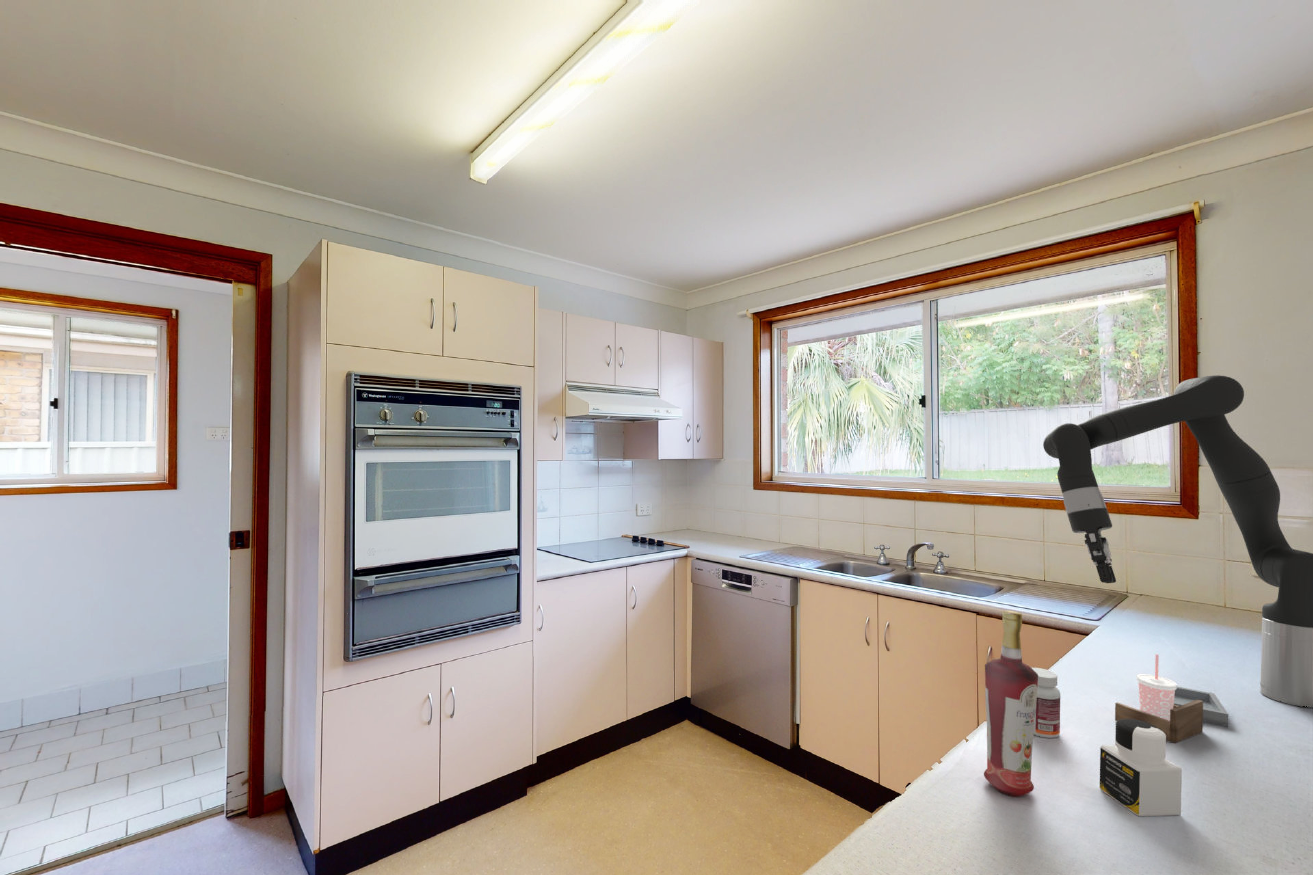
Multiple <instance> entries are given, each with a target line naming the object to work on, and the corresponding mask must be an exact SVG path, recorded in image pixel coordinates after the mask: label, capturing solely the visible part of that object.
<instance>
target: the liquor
mask: <svg viewBox="0 0 1313 875" xmlns="http://www.w3.org/2000/svg"><path fill="white" fill-rule="evenodd" d="M1022 626H1023V614H1022V613H1021V612H1018V611H1016V610H1002V627H1003V636H1002V643H1001V650H1000V658H995V659H992V660H989V661H988V662H986V663H985V664H984V686H985V687H984V688H985V692H984V693H985V712H986V749H987V750H986V751H987V752H986V755H987V756H986V757H987V758H986V766H987V767H986V769H985V770H984V772H983V776H984V779H986V780H987V782H988V783H989V784H990V785H991V786H992V787H993V788H994V789H995V790H996V791H998V793H999V792H1000V793H1001V794H1003V795H1007V796H1009V797H1015V798H1020V797H1023V796H1025V795H1028V794H1030V793H1032V792H1033V791H1034V789H1035V786H1034V783H1033V782H1032V761H1033V760H1032V759H1033V748H1034V746H1033V744H1034V734H1033V733H1034V723H1035V713H1036V700H1037V685H1038V674H1037V673H1036V672H1035V671H1034V670H1033V669H1032V668H1033V667H1031V666H1029V665H1027V664H1026V663H1024V662H1023V656H1022V643H1021V642H1022V641H1021V630H1022Z"/></svg>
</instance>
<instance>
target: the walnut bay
mask: <svg viewBox="0 0 1313 875" xmlns="http://www.w3.org/2000/svg"><path fill="white" fill-rule="evenodd" d="M1114 704H1115V708H1114V710H1115V712H1114V720H1115V722H1117V721H1118V720H1121V719H1136V720H1140V721H1144V722H1147V723H1150V724H1152V725H1154V726H1156V727H1157V728H1159V729H1161V730H1162V731H1163V732H1164V733H1165V735H1166V741H1168V742H1171V743H1173V744H1176V743H1180V742H1181V741H1184V740H1187V739H1189V738H1192V737H1194V736H1197V735H1198V734H1201V733H1203V725H1204V724H1203V723H1204V722H1203V701H1201V700H1195V701H1192V702H1190V703H1187V704H1184V705H1181V706H1177V705H1174V704H1173V709H1170V721H1168V720H1166V719H1163V718H1160V717H1157V716H1155V715H1152V714H1149V713H1146V712H1143V711H1141V710H1140V709H1137V708H1135V707H1132V706H1129V705H1126V704H1124V703H1121V702H1118V701H1117V702H1115V703H1114Z"/></svg>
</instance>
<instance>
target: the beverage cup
mask: <svg viewBox="0 0 1313 875" xmlns="http://www.w3.org/2000/svg"><path fill="white" fill-rule="evenodd" d="M1159 658H1160V657H1159V654H1155V657H1154V659H1155V665H1154V666H1155V667H1154V670H1155V671H1154V674H1150V673H1149V674H1147V673H1141V674H1139V673H1138V674H1137V675H1136V681H1137V683H1138V696H1139V697H1138V698H1139V710H1141V711H1143V712H1146V713H1149V714H1152V715H1155V716H1157V717H1160V718H1163V719H1166V720H1168V721H1170V709H1173V704H1174V695H1175V690H1176V689H1177V688H1176V687H1178V684H1177V683H1176V681H1173V680H1171V679H1169V678H1167V677H1164V676H1163V677H1162V676H1159Z"/></svg>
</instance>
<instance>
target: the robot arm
mask: <svg viewBox="0 0 1313 875" xmlns="http://www.w3.org/2000/svg"><path fill="white" fill-rule="evenodd" d="M1244 398H1245V391H1244V387H1243V386H1242V384H1241V382H1239V381H1238V380H1236V379H1235V378H1232V377H1230V376H1226V375H1216V374H1215V375H1207V376H1200V377H1194V378H1189V379H1186V380H1182V381H1181V382H1180V383H1179V384H1178V385H1176V388H1175V390H1174V391H1173V394H1172V395H1168V396H1165V397H1161V398H1158V399H1155V400H1151V401H1145V402H1141V403H1137V404H1133V405H1128V406H1125V407H1124V406H1123V407H1121V408H1117V409H1114V410H1110V411H1107V412H1104V413H1101V414H1097V415H1095V416H1093V417H1090V418H1088V419H1087V420H1085V421H1084V422H1082V423H1080V424H1075V423H1072V422H1071V423H1070V422H1068V423H1067V422H1066V423H1062V424H1060V425H1058V426H1056V427H1055V429H1053V430H1052V431H1051V432H1049V433H1048V434H1047V435H1046V436H1045V438H1044V440H1043V445H1042V446H1043V449H1044V452H1045V453H1046V454H1047V455H1048V456H1050V457H1052V458H1054V459H1058V462H1059V463H1058V464H1059V468H1058V470H1057V473H1056V474H1057V480H1058V484H1059V486H1060V490H1061V494H1062V498H1063V499H1062V500H1063V504H1064V505H1063V506H1064V508H1065V511H1066V514H1067V517H1068V518H1067V519H1068V520H1069V524H1070V528H1071V531H1072V532H1073V533H1074V534H1084V533H1085V534H1084V538H1085V539H1084V540H1083V541H1084V544H1085V546H1086V548H1087V551H1088V555H1089V557H1090V559H1091V561H1092V562H1093V564H1094V566H1095V567H1096V570H1097V574H1098V576H1099V580H1100V582H1101V583H1105V584H1113V583H1115V584H1116V582H1117V578H1116V575H1115V572H1114V568H1113V560H1112V558H1111V557H1112V554H1111V550H1110V548H1109V541H1108V538H1107V537H1104V536H1102V531H1105V530H1109V529H1112V528H1113V523H1112V519H1111V518H1110V514H1109V511H1108V508H1107V505H1106V501H1105V498H1104V496H1103V494H1102V492H1101V490H1100V488H1099V484H1098V482H1097V479H1096V475H1095V473H1094V470H1093V462H1092V461H1093V459H1092V458H1093V457H1092V450H1093V449H1095V448H1097V447H1098V448H1099V447H1101V446H1104V445H1109V444H1113V443H1116V442H1119V441H1123V440H1126V439H1129V438H1132V437H1135V436H1139V435H1141V434H1144V433H1147V432H1151V431H1154V430H1156V429H1159V428H1163V427H1167V426H1170V425H1174V424H1177V423H1181V422H1182V423H1183V422H1185V425H1186V426H1187V427H1188V429H1189V430H1190V432H1191V433H1192V435H1193V436H1194V438H1195V440H1196V442H1197V443H1198V446H1199V447H1200V449H1201V452H1202V454H1203V456H1204V458H1205V461H1207V464H1208V466H1209V468H1210V469H1211V472H1212V474H1213V477H1214V479H1215V481H1216V483H1217V486H1218V488H1219V489H1220V491H1221V493H1222V496H1223V497H1224V499H1225V501H1226V503H1227V505H1228V506H1229V507H1228V508H1229V509H1230V511H1231V514H1232V515H1233V518H1234V520H1235V522H1236V524H1237V526H1238V528H1239V531H1240V532H1241V535H1242V538H1243V540H1244V543H1245V544H1244V545H1245V548H1246V549H1247V552H1248V556H1249V559H1250V562H1251V565H1252V568H1253V570H1254V571H1255V574H1256V575H1257V576H1258V578H1259V579H1261V580H1262V581H1263V582H1264V583H1266V584H1268V585H1270V586H1272V587H1275V588H1278V592H1277V599H1276V600H1275V601H1274V602H1268V603H1265V604H1263V606H1262V609H1261V647H1260V648H1261V649H1260V650H1261V652H1260V682H1259V684H1260V687H1259V688H1260V690H1259V691H1260V693H1261V694H1262V695H1263V696H1265V697H1266V698H1269V699H1272V700H1275V701H1278V702H1280V701H1281V703H1284V704H1289V705H1293V706H1297V707H1298V706H1299V707H1303V706H1305V707H1304V708H1313V553H1312V552H1309V551H1304V550H1300V549H1299V550H1298V549H1295V548H1294V549H1293V548H1292V547H1291V545H1290V544H1289V542H1288V541H1287V539H1286V537H1285V535H1284V534H1283V531H1282V529H1281V527H1280V525H1279V521H1278V520H1279V511H1280V510H1279V509H1280V504H1281V491H1280V487H1279V485H1278V483H1277V480H1276V478H1275V477H1274V475H1273V472H1272V470H1271V468H1270V467H1269V465H1268V463H1267V462H1266V461H1265V460H1264V457H1262V456H1261V455H1260V454H1259V453H1258V452H1257V451H1256V450H1255V449H1253V448H1252V447H1251V446H1250V445H1249V444H1248V443H1247V442H1245V441H1244V440H1243V439H1242V438H1240V436H1239V435H1238V434H1237V433H1236V432H1235V431H1234V429H1233V428H1232V427H1231V424H1230V423H1229V420H1228V418H1227V417H1226V415H1227V414H1230V413H1232V412H1233V411H1235V410H1237V409H1238V408H1239V407H1240V406H1241V405H1242V403H1243V401H1244ZM1306 706H1307V707H1306Z"/></svg>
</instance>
